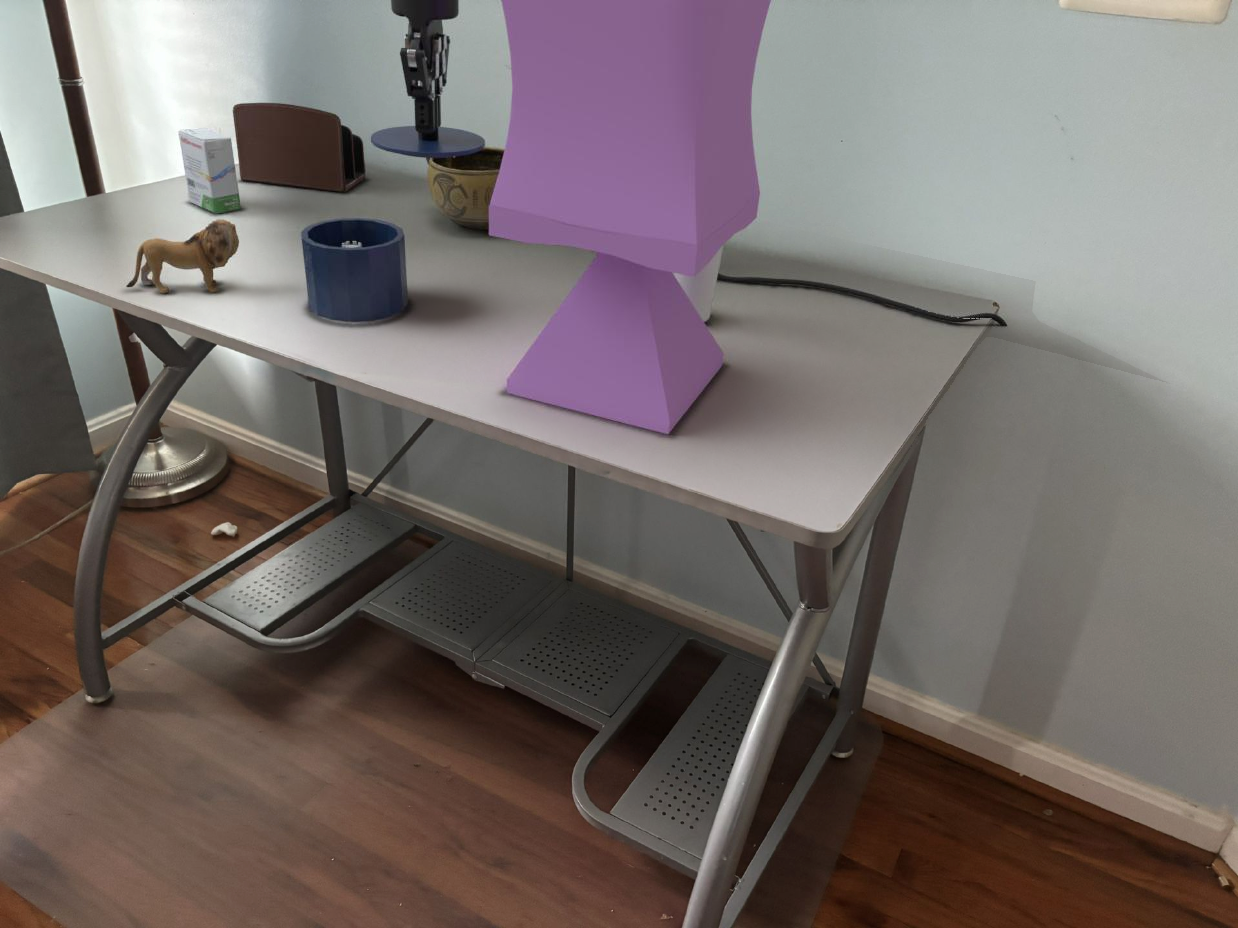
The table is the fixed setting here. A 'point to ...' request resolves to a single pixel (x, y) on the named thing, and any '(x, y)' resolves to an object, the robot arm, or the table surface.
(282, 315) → the table surface
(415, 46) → the robot arm
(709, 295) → the drinking glass
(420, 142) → the lid
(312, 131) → the letter holder
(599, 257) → the purple table lamp
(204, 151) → the ink box
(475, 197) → the ceramic bowl
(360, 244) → the rook chess piece
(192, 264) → the lion figurine
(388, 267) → the pot
